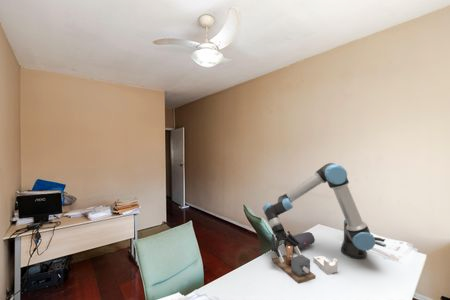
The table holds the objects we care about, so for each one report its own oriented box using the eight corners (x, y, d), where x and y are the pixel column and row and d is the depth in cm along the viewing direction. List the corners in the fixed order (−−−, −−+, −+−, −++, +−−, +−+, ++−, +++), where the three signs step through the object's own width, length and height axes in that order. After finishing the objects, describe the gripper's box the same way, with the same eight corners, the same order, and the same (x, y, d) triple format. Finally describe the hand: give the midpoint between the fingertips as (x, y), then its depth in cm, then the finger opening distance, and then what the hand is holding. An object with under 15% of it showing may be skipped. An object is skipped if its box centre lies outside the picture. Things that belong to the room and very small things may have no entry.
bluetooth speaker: (293, 255, 140) (293, 240, 139) (283, 249, 148) (283, 235, 147) (315, 247, 151) (315, 233, 151) (304, 242, 159) (304, 229, 159)
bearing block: (291, 271, 119) (291, 257, 119) (302, 268, 122) (302, 254, 122) (298, 277, 114) (299, 263, 113) (310, 274, 117) (310, 259, 117)
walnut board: (271, 260, 133) (271, 258, 133) (286, 257, 138) (286, 254, 138) (298, 283, 111) (298, 280, 111) (315, 277, 116) (315, 275, 116)
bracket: (337, 273, 120) (337, 260, 120) (326, 274, 119) (326, 261, 119) (323, 261, 133) (323, 249, 133) (313, 262, 132) (313, 250, 132)
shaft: (283, 262, 127) (283, 245, 127) (290, 260, 129) (290, 244, 129) (304, 278, 112) (304, 259, 112) (311, 276, 114) (311, 257, 114)
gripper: (288, 226, 145) (304, 257, 132) (258, 231, 136) (271, 266, 122) (294, 220, 140) (311, 253, 127) (262, 226, 131) (277, 262, 117)
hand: (291, 260), depth 124 cm, fingers open, 13 cm apart
